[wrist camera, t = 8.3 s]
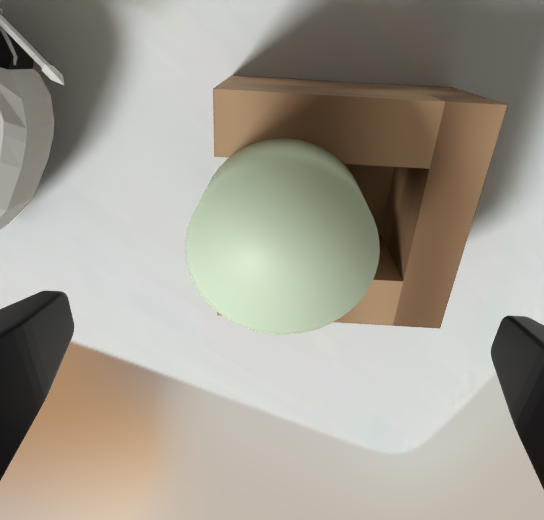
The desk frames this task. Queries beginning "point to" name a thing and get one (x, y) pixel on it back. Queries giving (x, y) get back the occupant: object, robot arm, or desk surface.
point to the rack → (383, 172)
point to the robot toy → (22, 120)
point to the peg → (282, 238)
